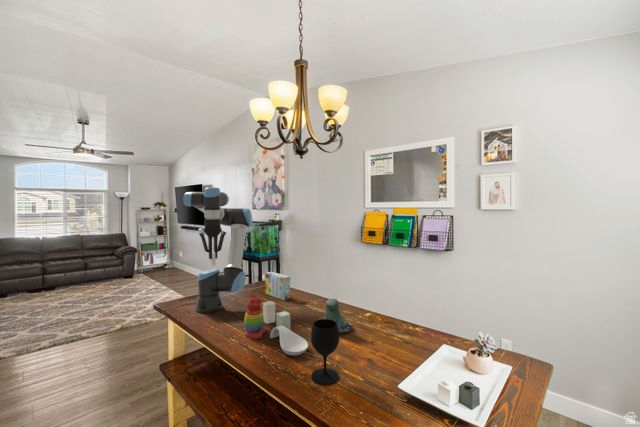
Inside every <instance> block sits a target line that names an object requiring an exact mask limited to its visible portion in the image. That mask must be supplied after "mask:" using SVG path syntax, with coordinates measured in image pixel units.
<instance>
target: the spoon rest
mask: <svg viewBox="0 0 640 427" xmlns="http://www.w3.org/2000/svg"><path fill="white" fill-rule="evenodd" d="M279 333H280V336H279ZM269 335H270V336H269V339H275V338H278V337H279V345H280V349H281V350H282V351H283V352H284V353H285V355H288V356H292V357H293V356H295V357H296V356H300V355H302V354H303V353H305V352H306V351H307V350H308V348H309V343H308V341H307V340H306V339H305V338H304V337H302V336H300V335H298V334H297V333H295V332H294V331H292V330H291V329H290V330H289V329H288V328H286V327H284V326H279V327H275V326H274V327H273V328H272V329H271V332H270V334H269Z"/></svg>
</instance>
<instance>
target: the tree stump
mask: <svg viewBox="0 0 640 427" xmlns="http://www.w3.org/2000/svg"><path fill="white" fill-rule="evenodd" d="M339 307H340V306H339V301H338V299H336V298H328V299H327V300H326V302H325V317H324V318H323V319H330V320H333V321H335V322H336V323H337V326H338V330H339V335H340V334H347V333H349V332H351V331H352V330H353V324H352V323H351V322H350V321H348V320H346V319H345V318H344V316H342V314H341V312H340V308H339Z"/></svg>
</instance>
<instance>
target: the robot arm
mask: <svg viewBox="0 0 640 427" xmlns="http://www.w3.org/2000/svg"><path fill="white" fill-rule="evenodd" d="M182 201H183V202H182V203H183V204H184V206H186V207H193V208H196V209H198V210H199V211H201V212H202V213H203V214H204V228H203V231H201V232H199V233H198V235H199V237H200V238H201V242H202V245H203V249H204V251H205V252H206V253H208V259H209V260H210V266H211V267H214V266H215V267H216V259H218V253H219V252H221V250H222V248H223V242H224V239H225V236H226V234H227V232H226V231H224V230H223V229H222V226H224V227H226V226H227V227H229V228H230V229H231V235H230V242H229V248H228V249H229V250H228V255H227V262H226V266H224V267H223V271H220V269H219V268H211V269H206V270H203V271H201V272H199V273H198V281H197V282H198V299H197V302H196V305H195V312H197V313H199V314H200V313H201V314H210V313H215V312H219V311H221V310H222V309H223V308H224V306H223V305H224V304H223V301H222V298H221V296H220V293H224V292H225V293H237V292H241V291H243V289H244V286H245V285H246V284H245V283H246V278H247V276H246V272H245V271H244V269H243V267H242V266H243V265H242V262H243V257H244V256H243V255H244V249H245V240H246V234H247V233H246V232H247V231H248V230H249V227H252V226H253V216H252V215H253V214H252V212H251V209H250V208H246V207H245V208H244V207H243V208H234V207H233V208H231V207H227V208H226V207H225V208H224V206H226V205H228V204H229V201H230V199H229V195H228V194H227V193H226V192H224V191H221V188H219V187H205V188H204V189H203V191H187V192H185V193H184V194H183V197H182ZM222 207H223V208H222ZM221 225H222V226H221ZM205 236H207V239H208V240H207V241H208V244H207V241H206V237H205ZM218 237H219V240H218Z"/></svg>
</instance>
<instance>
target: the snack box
mask: <svg viewBox="0 0 640 427" xmlns="http://www.w3.org/2000/svg"><path fill="white" fill-rule="evenodd" d="M264 277H265V280H264V281H265V288H264V290H265V292H264V293H265V295H268V296H271V297H273V298H277V299H280V300H282V301H286V300H287V301H288V300H290V299H291V276H289V275H284V274H282V273H279V272H278V273H277V272H273V271H269V272H265V275H264Z"/></svg>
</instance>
